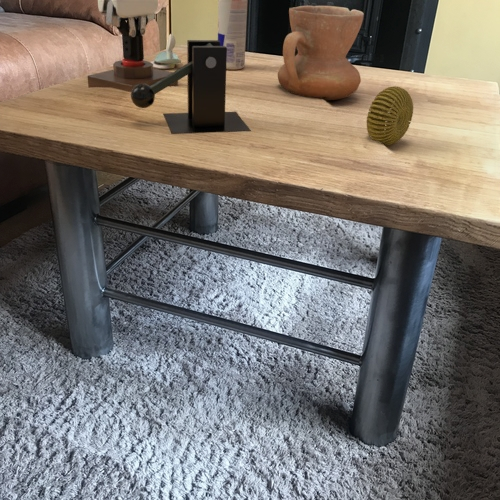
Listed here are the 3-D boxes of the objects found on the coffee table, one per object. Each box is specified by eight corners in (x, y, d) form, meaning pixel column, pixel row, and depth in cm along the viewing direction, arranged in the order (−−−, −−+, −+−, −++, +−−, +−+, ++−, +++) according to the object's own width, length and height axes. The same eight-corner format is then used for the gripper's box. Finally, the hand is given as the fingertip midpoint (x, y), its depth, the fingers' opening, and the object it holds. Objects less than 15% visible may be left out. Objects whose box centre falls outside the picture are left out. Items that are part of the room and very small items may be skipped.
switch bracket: (171, 142, 75) (169, 50, 69) (163, 121, 83) (160, 37, 77) (250, 138, 78) (255, 50, 72) (235, 119, 85) (238, 37, 79)
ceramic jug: (318, 80, 110) (326, 1, 102) (378, 97, 101) (392, 12, 93) (250, 93, 99) (254, 6, 92) (311, 114, 90) (321, 19, 83)
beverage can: (248, 66, 117) (252, -13, 109) (238, 72, 112) (242, -10, 105) (223, 63, 119) (225, -15, 111) (212, 68, 114) (214, -13, 106)
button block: (133, 99, 92) (131, 74, 90) (88, 88, 96) (86, 64, 94) (178, 85, 101) (177, 62, 99) (135, 76, 105) (134, 54, 103)
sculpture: (388, 135, 83) (398, 79, 78) (412, 142, 80) (423, 85, 76) (356, 146, 77) (365, 88, 73) (381, 154, 75) (392, 95, 71)
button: (134, 73, 95) (133, 62, 94) (118, 70, 96) (117, 59, 95) (148, 70, 97) (147, 59, 97) (132, 66, 99) (131, 56, 98)
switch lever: (140, 115, 75) (127, 95, 74) (138, 108, 78) (125, 88, 76) (223, 65, 75) (212, 43, 73) (218, 60, 77) (207, 39, 76)
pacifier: (152, 72, 109) (183, 70, 111) (150, 38, 106) (181, 37, 108) (147, 63, 115) (176, 62, 117) (145, 31, 112) (175, 30, 114)
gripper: (140, -64, 94) (145, 50, 103) (72, -65, 83) (85, 63, 92) (175, -62, 91) (177, 56, 100) (110, -62, 80) (120, 70, 89)
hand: (133, 59), depth 96 cm, fingers closed
